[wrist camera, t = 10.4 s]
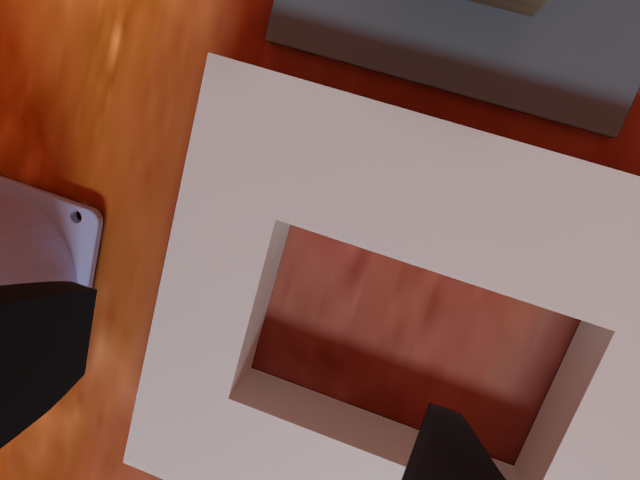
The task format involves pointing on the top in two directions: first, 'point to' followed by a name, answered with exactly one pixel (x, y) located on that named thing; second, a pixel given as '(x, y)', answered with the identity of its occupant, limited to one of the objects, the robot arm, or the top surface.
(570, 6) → the rubber mat
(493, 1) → the walnut block
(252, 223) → the puzzle board
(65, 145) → the top surface
